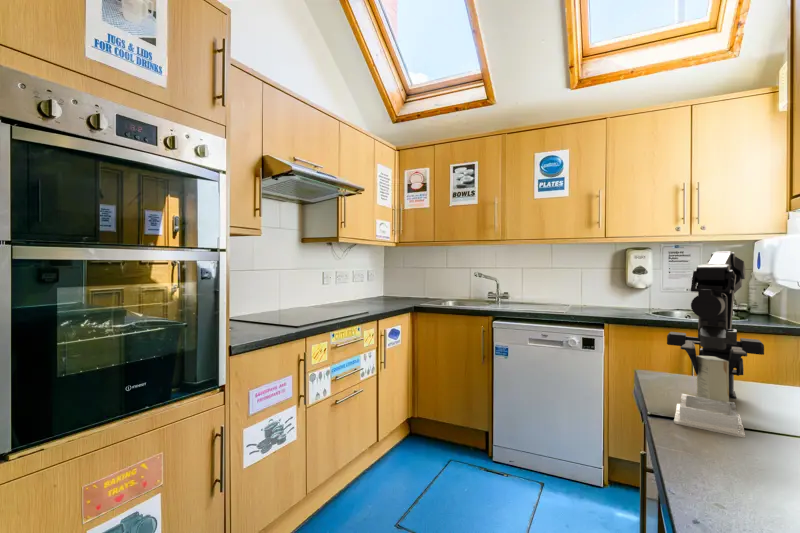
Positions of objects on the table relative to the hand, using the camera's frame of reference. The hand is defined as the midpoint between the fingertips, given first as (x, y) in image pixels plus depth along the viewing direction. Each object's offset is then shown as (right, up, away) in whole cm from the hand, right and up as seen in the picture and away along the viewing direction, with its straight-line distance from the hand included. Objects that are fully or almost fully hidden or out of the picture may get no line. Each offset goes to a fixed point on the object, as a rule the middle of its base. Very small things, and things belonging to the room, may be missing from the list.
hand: (712, 376), depth 98 cm
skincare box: (0, -8, 0) cm, 8 cm away
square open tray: (-8, -8, -9) cm, 14 cm away
